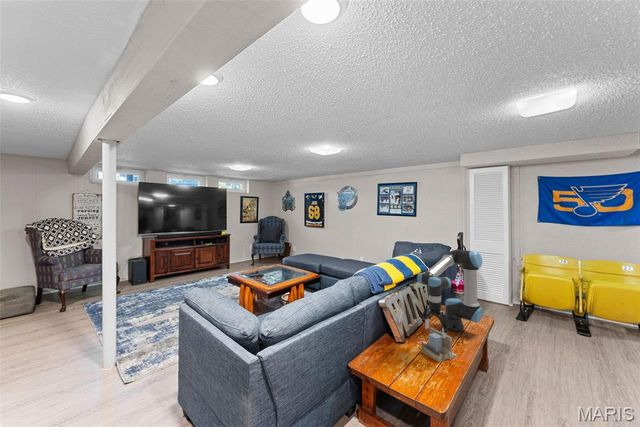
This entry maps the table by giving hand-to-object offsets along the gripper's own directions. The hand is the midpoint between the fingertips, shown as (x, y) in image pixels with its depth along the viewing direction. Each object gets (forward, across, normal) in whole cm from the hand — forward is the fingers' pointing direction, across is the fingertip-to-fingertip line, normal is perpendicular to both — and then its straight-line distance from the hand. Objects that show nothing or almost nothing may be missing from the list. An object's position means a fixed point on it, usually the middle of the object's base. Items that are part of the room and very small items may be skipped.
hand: (435, 332), depth 170 cm
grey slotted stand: (+15, 0, +2) cm, 15 cm away
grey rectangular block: (+11, 0, 0) cm, 11 cm away
